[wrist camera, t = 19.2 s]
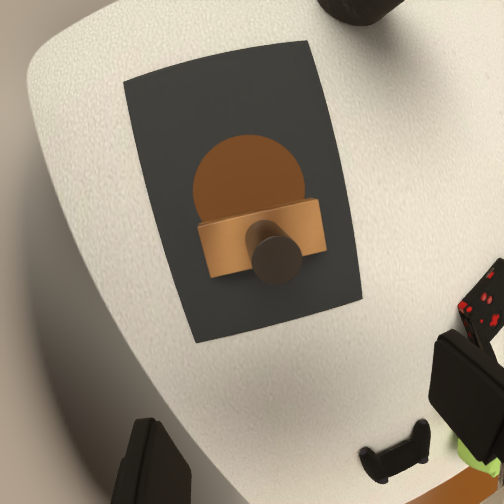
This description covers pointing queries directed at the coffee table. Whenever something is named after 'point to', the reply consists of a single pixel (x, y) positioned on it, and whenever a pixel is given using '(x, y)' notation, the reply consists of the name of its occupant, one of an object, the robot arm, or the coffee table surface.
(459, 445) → the teapot
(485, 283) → the handheld gaming console
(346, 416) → the coffee table surface
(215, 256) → the scrub brush
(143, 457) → the robot arm
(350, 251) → the scrub mat
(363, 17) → the travel mug
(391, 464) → the gaming controller
